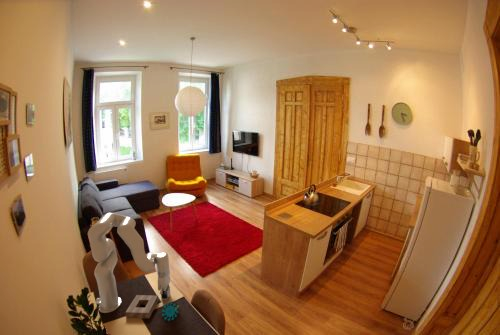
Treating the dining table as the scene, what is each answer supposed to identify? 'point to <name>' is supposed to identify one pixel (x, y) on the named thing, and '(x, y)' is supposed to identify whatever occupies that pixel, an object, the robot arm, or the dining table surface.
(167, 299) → the peg
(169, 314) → the gear
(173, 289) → the dining table surface
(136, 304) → the bore block
